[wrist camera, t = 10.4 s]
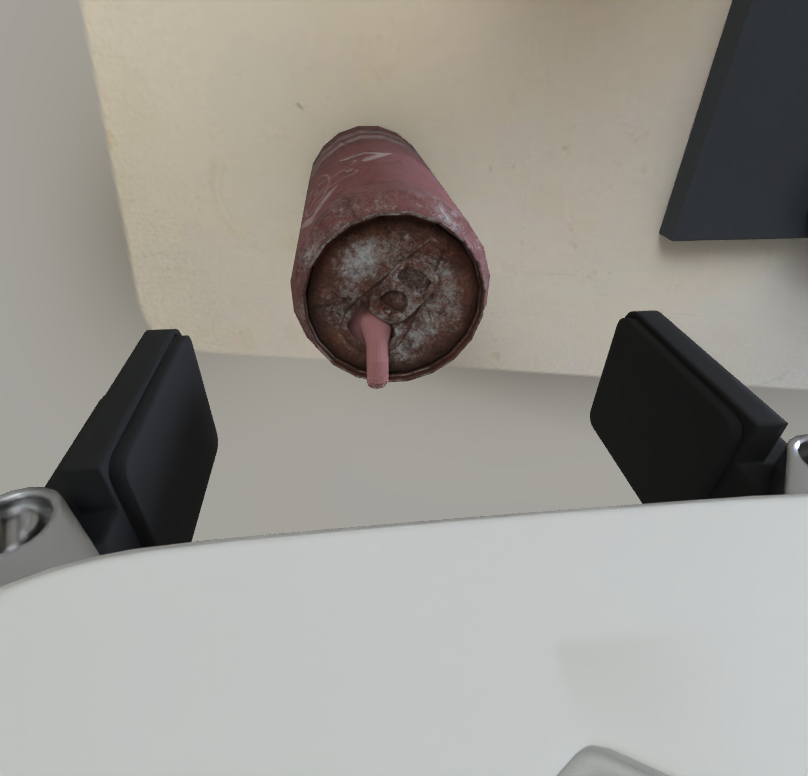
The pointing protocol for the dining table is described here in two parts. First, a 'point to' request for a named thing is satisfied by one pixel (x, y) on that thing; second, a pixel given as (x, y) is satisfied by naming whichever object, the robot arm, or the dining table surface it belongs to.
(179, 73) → the dining table surface
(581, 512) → the robot arm
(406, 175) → the can
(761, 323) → the dining table surface
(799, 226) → the scale
